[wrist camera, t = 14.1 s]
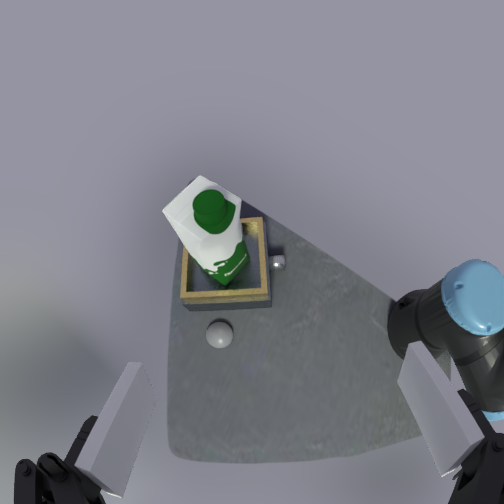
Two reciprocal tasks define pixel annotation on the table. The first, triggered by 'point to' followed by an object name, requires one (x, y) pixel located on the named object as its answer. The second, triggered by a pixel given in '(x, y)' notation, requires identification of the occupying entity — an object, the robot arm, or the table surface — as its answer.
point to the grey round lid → (219, 335)
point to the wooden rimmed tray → (242, 285)
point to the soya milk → (210, 228)
